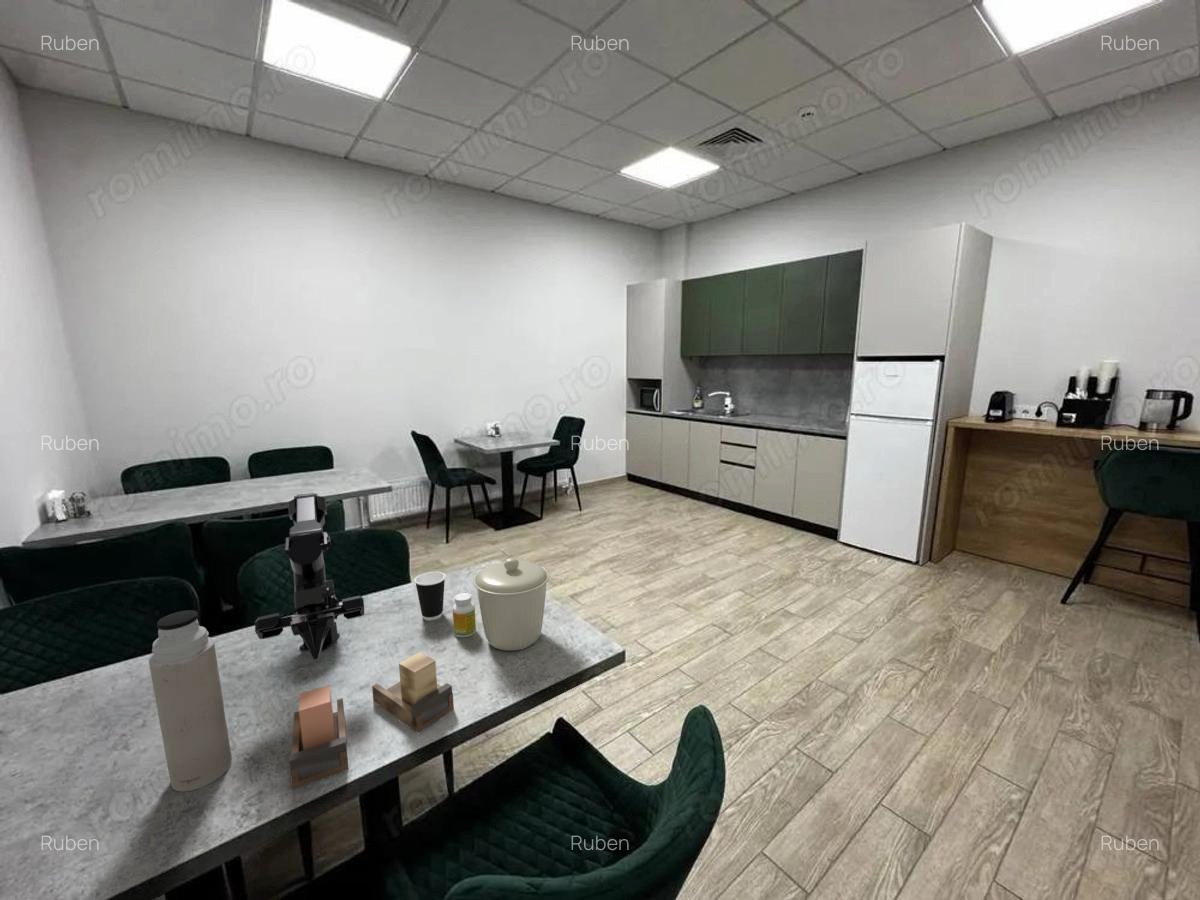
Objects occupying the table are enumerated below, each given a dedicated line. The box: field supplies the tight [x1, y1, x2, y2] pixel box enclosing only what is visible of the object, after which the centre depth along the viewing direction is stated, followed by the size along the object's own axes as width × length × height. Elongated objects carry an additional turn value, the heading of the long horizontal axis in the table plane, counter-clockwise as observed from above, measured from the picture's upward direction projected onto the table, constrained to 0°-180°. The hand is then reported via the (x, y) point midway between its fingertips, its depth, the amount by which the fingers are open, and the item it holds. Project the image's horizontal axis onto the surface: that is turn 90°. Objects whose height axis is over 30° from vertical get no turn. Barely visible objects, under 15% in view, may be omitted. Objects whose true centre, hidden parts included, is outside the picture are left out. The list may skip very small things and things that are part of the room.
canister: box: [472, 557, 550, 652], centre depth 119 cm, size 18×18×21 cm
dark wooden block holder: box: [288, 697, 349, 790], centre depth 86 cm, size 15×8×5 cm, turn 30°
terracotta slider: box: [298, 684, 335, 750], centre depth 85 cm, size 5×5×9 cm
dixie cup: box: [413, 571, 447, 621], centre depth 131 cm, size 8×8×11 cm
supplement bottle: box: [452, 592, 477, 638], centre depth 123 cm, size 5×5×10 cm
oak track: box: [371, 681, 455, 734], centre depth 97 cm, size 15×8×5 cm, turn 55°
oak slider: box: [398, 651, 438, 706], centre depth 95 cm, size 5×5×9 cm
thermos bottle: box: [148, 609, 233, 793], centre depth 79 cm, size 8×8×28 cm
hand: (315, 659), depth 95 cm, fingers closed
